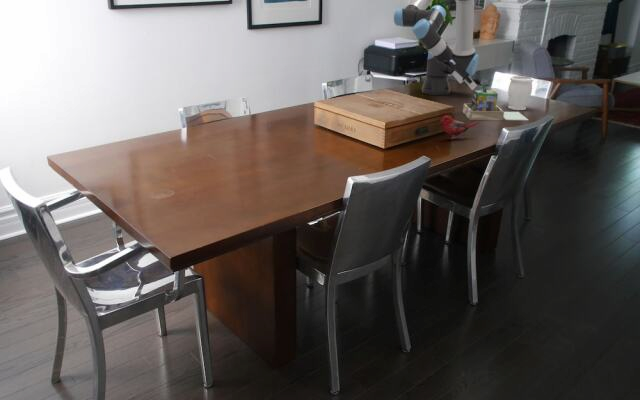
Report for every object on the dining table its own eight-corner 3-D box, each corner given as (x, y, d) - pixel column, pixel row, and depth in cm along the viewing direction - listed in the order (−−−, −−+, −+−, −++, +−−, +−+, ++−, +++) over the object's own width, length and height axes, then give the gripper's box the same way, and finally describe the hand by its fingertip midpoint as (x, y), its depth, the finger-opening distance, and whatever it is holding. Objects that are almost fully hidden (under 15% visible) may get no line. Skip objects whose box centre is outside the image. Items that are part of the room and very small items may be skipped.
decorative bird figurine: (436, 139, 210) (438, 114, 206) (475, 136, 215) (478, 112, 211) (439, 141, 208) (442, 116, 204) (479, 138, 212) (482, 113, 208)
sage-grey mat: (497, 112, 250) (497, 111, 250) (518, 112, 250) (518, 111, 250) (506, 120, 238) (506, 119, 237) (528, 120, 237) (528, 119, 237)
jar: (504, 109, 255) (509, 78, 249) (506, 105, 264) (511, 75, 258) (528, 112, 252) (533, 80, 246) (528, 107, 260) (534, 76, 254)
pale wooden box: (462, 111, 251) (463, 103, 249) (493, 112, 251) (494, 103, 249) (469, 119, 238) (471, 111, 236) (502, 120, 237) (504, 111, 236)
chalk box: (494, 118, 240) (499, 86, 234) (474, 118, 240) (478, 86, 234) (489, 113, 248) (493, 82, 242) (469, 113, 248) (473, 82, 242)
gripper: (424, 52, 240) (451, 84, 248) (443, 61, 218) (473, 96, 226) (436, 40, 239) (463, 73, 247) (457, 48, 216) (486, 84, 224)
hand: (468, 84), depth 236 cm, fingers open, 13 cm apart
